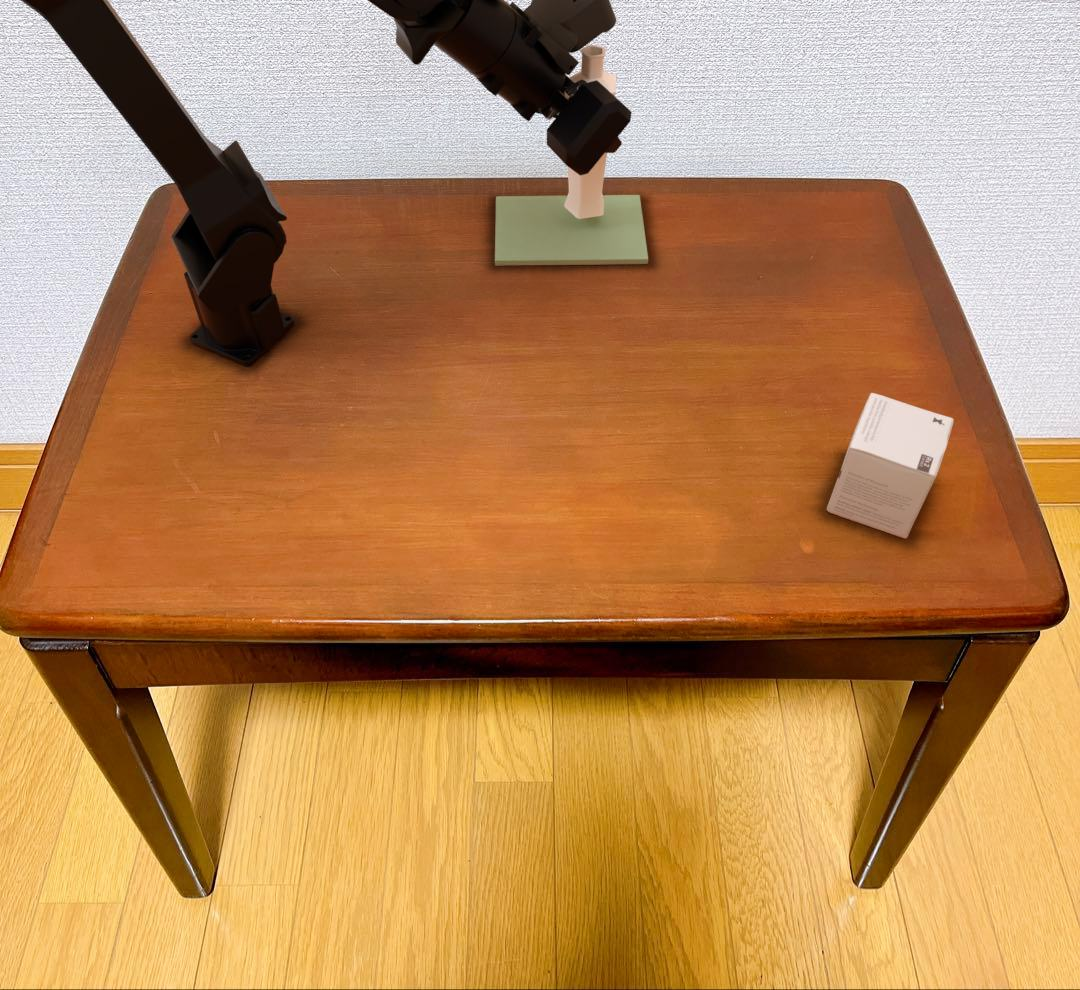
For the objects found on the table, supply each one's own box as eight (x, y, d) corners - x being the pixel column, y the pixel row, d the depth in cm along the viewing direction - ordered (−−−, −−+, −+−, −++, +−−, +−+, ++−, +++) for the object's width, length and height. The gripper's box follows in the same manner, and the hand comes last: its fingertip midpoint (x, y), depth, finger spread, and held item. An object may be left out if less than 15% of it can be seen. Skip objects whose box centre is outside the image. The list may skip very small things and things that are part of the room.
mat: (495, 265, 93) (494, 260, 92) (496, 201, 99) (496, 196, 98) (647, 264, 93) (648, 258, 92) (639, 199, 99) (639, 194, 99)
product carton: (845, 457, 78) (869, 389, 72) (925, 483, 76) (956, 415, 70) (824, 513, 74) (848, 446, 69) (907, 542, 73) (938, 475, 67)
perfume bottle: (620, 211, 95) (633, 55, 83) (581, 226, 93) (589, 69, 81) (592, 187, 97) (601, 32, 85) (554, 201, 95) (558, 45, 84)
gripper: (617, -2, 70) (726, 109, 82) (500, -99, 81) (611, 12, 93) (516, 129, 74) (634, 217, 86) (417, 21, 84) (534, 112, 96)
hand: (603, 134), depth 90 cm, fingers closed on perfume bottle, 4 cm apart
